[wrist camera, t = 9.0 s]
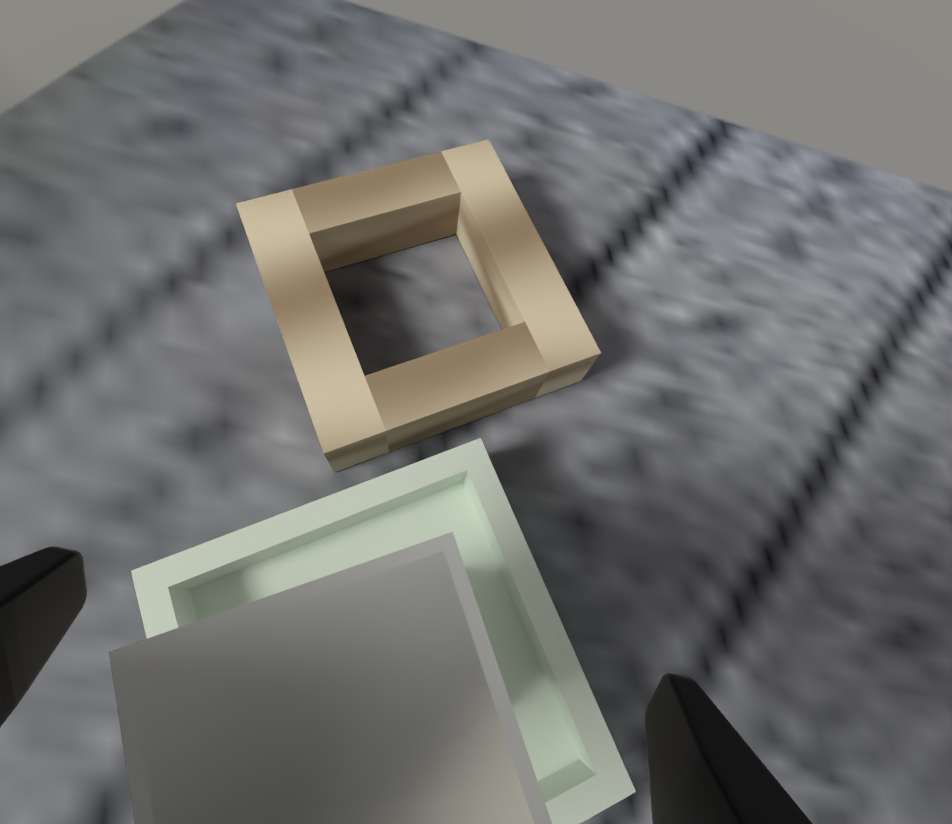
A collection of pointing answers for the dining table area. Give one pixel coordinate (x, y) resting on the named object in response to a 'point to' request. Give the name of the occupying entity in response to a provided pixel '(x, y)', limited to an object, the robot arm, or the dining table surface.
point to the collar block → (396, 228)
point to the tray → (492, 580)
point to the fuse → (329, 707)
